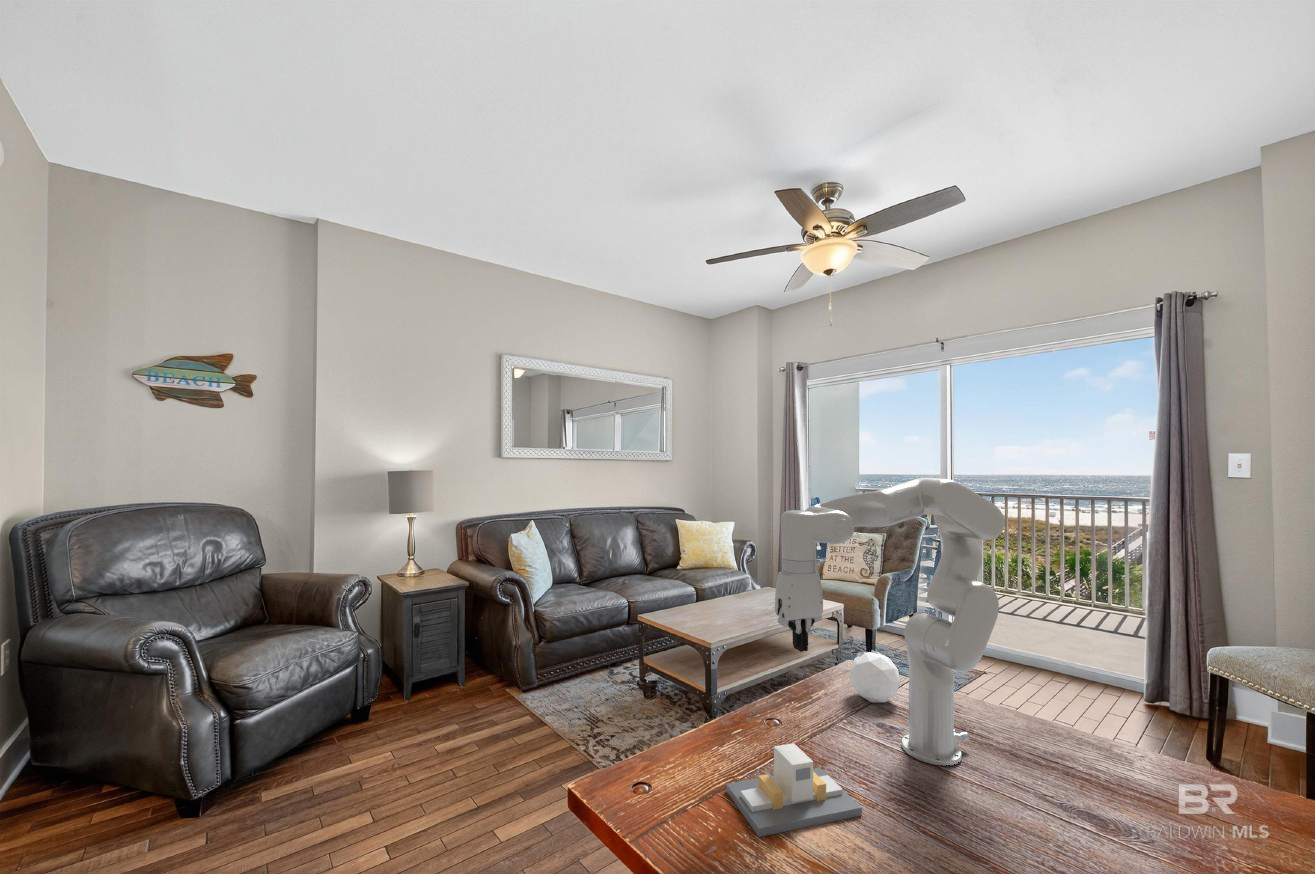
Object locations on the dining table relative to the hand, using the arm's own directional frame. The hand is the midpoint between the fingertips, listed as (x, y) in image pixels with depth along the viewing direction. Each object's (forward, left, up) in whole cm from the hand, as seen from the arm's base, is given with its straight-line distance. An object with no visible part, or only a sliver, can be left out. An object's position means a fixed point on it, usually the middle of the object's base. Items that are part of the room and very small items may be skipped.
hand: (800, 649), depth 121 cm
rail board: (+8, +10, -26) cm, 29 cm away
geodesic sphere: (-40, -25, -26) cm, 54 cm away
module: (+8, +10, -24) cm, 27 cm away
